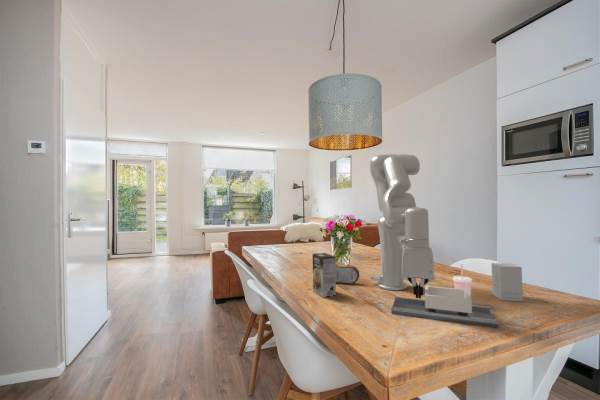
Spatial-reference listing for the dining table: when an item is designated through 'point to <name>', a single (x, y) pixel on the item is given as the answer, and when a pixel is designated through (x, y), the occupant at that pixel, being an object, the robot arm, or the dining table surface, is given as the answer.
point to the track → (443, 313)
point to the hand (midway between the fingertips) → (418, 297)
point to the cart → (448, 299)
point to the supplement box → (507, 281)
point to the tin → (346, 274)
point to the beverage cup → (462, 282)
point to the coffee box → (324, 274)
